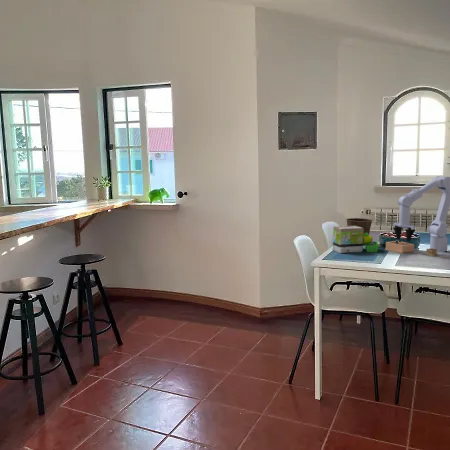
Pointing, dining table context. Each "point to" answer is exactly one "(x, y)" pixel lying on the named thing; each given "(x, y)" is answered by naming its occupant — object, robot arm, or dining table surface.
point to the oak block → (431, 252)
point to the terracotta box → (399, 247)
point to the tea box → (348, 239)
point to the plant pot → (360, 224)
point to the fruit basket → (370, 243)
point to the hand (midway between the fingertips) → (403, 240)
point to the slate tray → (407, 253)
